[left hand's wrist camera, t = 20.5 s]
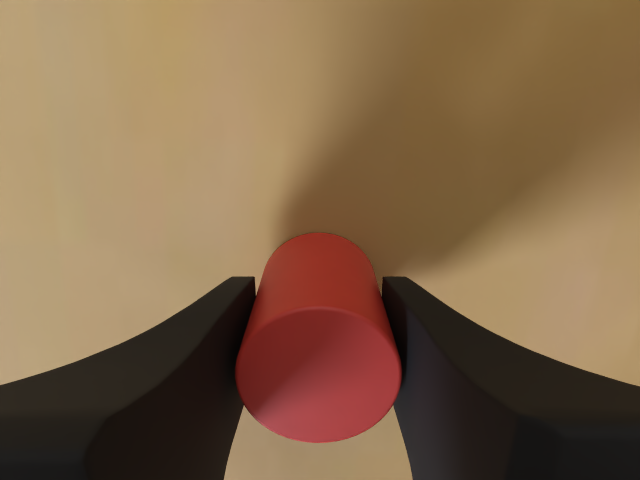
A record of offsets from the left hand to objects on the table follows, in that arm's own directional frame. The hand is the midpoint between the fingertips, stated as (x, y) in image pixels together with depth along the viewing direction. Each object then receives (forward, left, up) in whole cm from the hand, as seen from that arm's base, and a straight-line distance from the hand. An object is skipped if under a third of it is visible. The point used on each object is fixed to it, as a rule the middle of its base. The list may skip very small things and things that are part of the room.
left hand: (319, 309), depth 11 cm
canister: (0, 0, -2) cm, 2 cm away
